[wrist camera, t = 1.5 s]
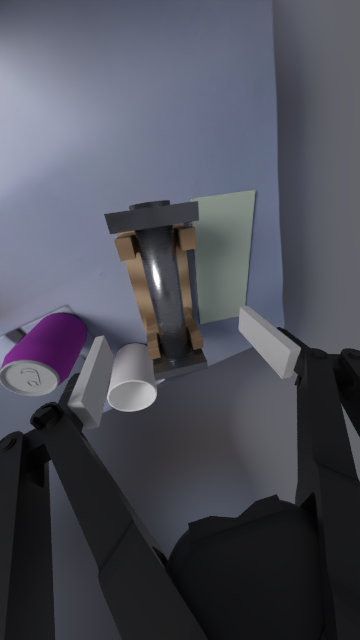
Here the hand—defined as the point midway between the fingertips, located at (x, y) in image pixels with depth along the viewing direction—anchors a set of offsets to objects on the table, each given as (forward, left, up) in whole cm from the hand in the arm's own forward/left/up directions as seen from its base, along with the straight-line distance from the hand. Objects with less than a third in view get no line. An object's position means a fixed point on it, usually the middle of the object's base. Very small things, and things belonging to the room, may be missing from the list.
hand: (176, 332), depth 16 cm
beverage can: (+6, -19, -17) cm, 26 cm away
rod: (0, 0, -11) cm, 11 cm away
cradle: (0, 0, -16) cm, 16 cm away
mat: (0, +11, -16) cm, 20 cm away
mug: (+16, -7, -17) cm, 24 cm away
